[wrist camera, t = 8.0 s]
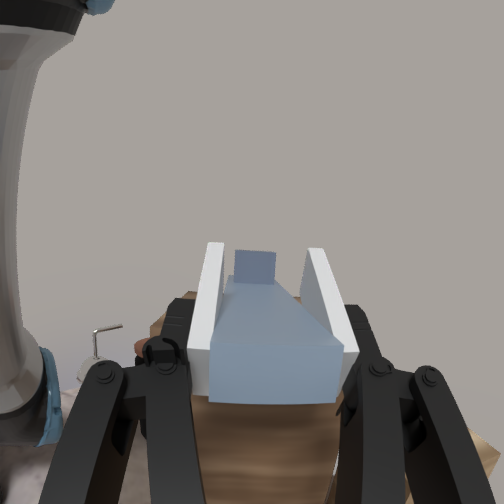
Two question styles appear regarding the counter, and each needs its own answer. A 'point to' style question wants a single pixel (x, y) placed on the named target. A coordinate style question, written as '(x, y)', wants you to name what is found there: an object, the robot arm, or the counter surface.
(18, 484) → the counter surface
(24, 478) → the counter surface
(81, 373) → the cup with straw
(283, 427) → the walnut box
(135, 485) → the counter surface
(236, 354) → the lid
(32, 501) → the counter surface
